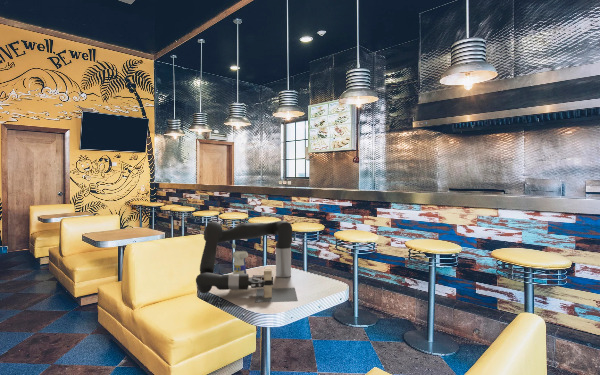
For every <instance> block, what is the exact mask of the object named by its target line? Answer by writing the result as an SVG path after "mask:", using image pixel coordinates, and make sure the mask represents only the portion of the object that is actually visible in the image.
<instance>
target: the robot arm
mask: <svg viewBox="0 0 600 375" xmlns="http://www.w3.org/2000/svg"><path fill="white" fill-rule="evenodd" d="M264 236H277V241H276V243H275V277H277V278H289V277H292V242H293V226H292V224H291V223H290V222H288V221H284V220H278V221H273V222H244V223H241V224H237V225H236V226H234V227H232V228H229V229H223V226H222V224H221V223H220V222H218V221H210V222H208V223H207V225H205V227H204V234H203V239H204V242H205V245H204V248H203V250H202V251H203V252H202V254H201V260H200V263H199V264H200V265H199V274H198V275H197V276H196V278H195V284H196V287H197V289H198V291H199V292H200V293H202V294H207V293H209V292H210V291H211V290H212V288H213V287H215V288H216V289H217V290H220V291H223V290H224V291H229V290H230V291H231V290H232V291H244V290H246V291H247V290H249V287H250V288H251V289H255V288H256V289H260V288H264V286H265V285H272V286H273V285H274V276H272V280H264V274H263V275H262V274H259V275H257V274H253V275H252V276H250V277H249V273H246V274H233V273H232V274H218V273H214V270H215V265H216V264H215V263H216V257H217V247H218V244H219V243H222V242H223V243H225V242H228V241H238V240H252V239H257V238H261V237H262V238H263V237H264Z"/></svg>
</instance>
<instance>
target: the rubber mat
mask: <svg viewBox="0 0 600 375" xmlns="http://www.w3.org/2000/svg"><path fill="white" fill-rule="evenodd" d="M298 301H299V300H298V296H297V292H296V288H295V287H274V288H273V287H272V297H269V298H264V288H256V292H255V300H254V303H255V304H256V303H258V304H260V303H283V302H284V303H287V302H298Z"/></svg>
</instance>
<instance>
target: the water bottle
mask: <svg viewBox="0 0 600 375" xmlns="http://www.w3.org/2000/svg"><path fill="white" fill-rule="evenodd" d="M231 246H232V249H234V250H235V249H236V246H237V245H236V244H235V242H233V243H232V244H231ZM248 256H249V254H248V251H246V250H237V251H233V252H232V260H233V263H232V265H233V271H232V274H247V270H246V268H247V267H246V264H247V262H246V258H247V257H248Z"/></svg>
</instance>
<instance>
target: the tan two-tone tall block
mask: <svg viewBox="0 0 600 375" xmlns="http://www.w3.org/2000/svg"><path fill="white" fill-rule="evenodd" d="M272 274H273V272H272V267H264V270H263V275H264V280H272V277H273V276H272ZM272 288H273V285H265V286H264V287H263V289H264V298H269V297H272Z"/></svg>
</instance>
